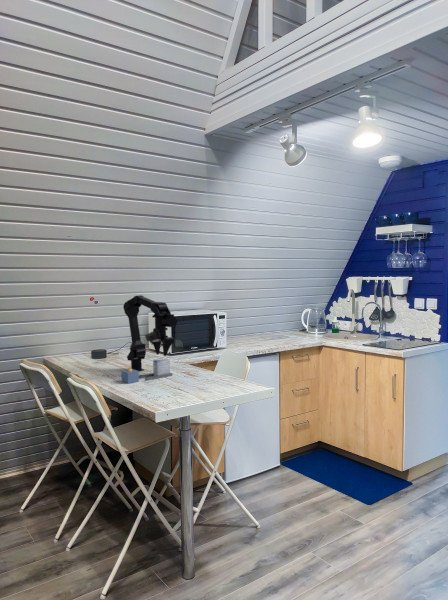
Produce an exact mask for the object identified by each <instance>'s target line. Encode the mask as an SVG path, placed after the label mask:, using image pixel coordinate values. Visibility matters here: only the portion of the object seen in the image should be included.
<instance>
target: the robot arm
mask: <svg viewBox="0 0 448 600" xmlns="http://www.w3.org/2000/svg"><path fill="white" fill-rule="evenodd" d="M143 306H144V307H146V308H148V309H150V311H151V312H152V314H153V315H152V316H151V318H154V328H153V329H152V331H151V332H149V333H147V334H145V335H144V336H145V339H146V341H147V342H149V343H150V344H152V345H153V348H154V350H155V351H154V352H155V353H156V355H159V354H160V351H161V347H162V350H163V351H162V353H163V356H164V357H166V356H167V354H168V352H169V349H170V348H171V347H172V345H173V344H175V343H176V339H175V338H174V337H171V336H169V335H167V331H168V328H175V327H176V326H177V324H178V320H177V318H176V317H175V314H174V313H173V314H172V313H171V311H170V309H169V307H168V305H167V303H166V302H163V301H162V302H161V301H155V300H152V299H150V298H147V297H145V296H144V295H142V294H141V295H135V296H133V297H132V298H130V299H128V300H127V301H125V302H124V304H123V307H122V308H123V311H124V314H125V315H126V316H127V318H128V324H129V331H130V338H131V343H130V347H129V351H130V352H129V353H128V355H127V356H126V358H127V361H130V366H131V367H130V369H134V370H137V371H139V372H140V371H145V369H144V368H143V365H142V360H144V359H145V357H146V353H147V349H146V344H145V343H143V342H142V341H141V339H142V338H141V333H140V332H141V331H140V327H139V326H140V324H139V319H138V318H139V317H138V316H139V315H138V314H139V312H140V308H141V307H143Z"/></svg>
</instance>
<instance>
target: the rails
mask: <svg viewBox="0 0 448 600" xmlns="http://www.w3.org/2000/svg"><path fill="white" fill-rule="evenodd" d="M172 375H173V372H172V373H171V372H170V373H168V374H163V375H157V376H154V372H150V373H145V374H141V375H139V379H143V378H144V381H151V380H156V379H162V378H167V377H172Z"/></svg>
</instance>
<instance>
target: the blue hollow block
mask: <svg viewBox="0 0 448 600" xmlns="http://www.w3.org/2000/svg"><path fill="white" fill-rule="evenodd" d="M120 372H121V373H120V375H121V376H120V377H121V382H122V383H125V384H129V385H130V384H134V383H138V382H140V378H139V373H140V371H137V370H134V369H132V371H130V372H128V369H125V370H124V369H123V370H121V371H120Z"/></svg>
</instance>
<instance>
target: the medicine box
mask: <svg viewBox="0 0 448 600" xmlns="http://www.w3.org/2000/svg"><path fill="white" fill-rule="evenodd" d="M152 361H153V362H152V365H153V366H152V367H153V372H152V373H154V376H157V375H163V374H168V373H171V363H170V362H171V360H170V359H169V358H159V359H154V360H152Z"/></svg>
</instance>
